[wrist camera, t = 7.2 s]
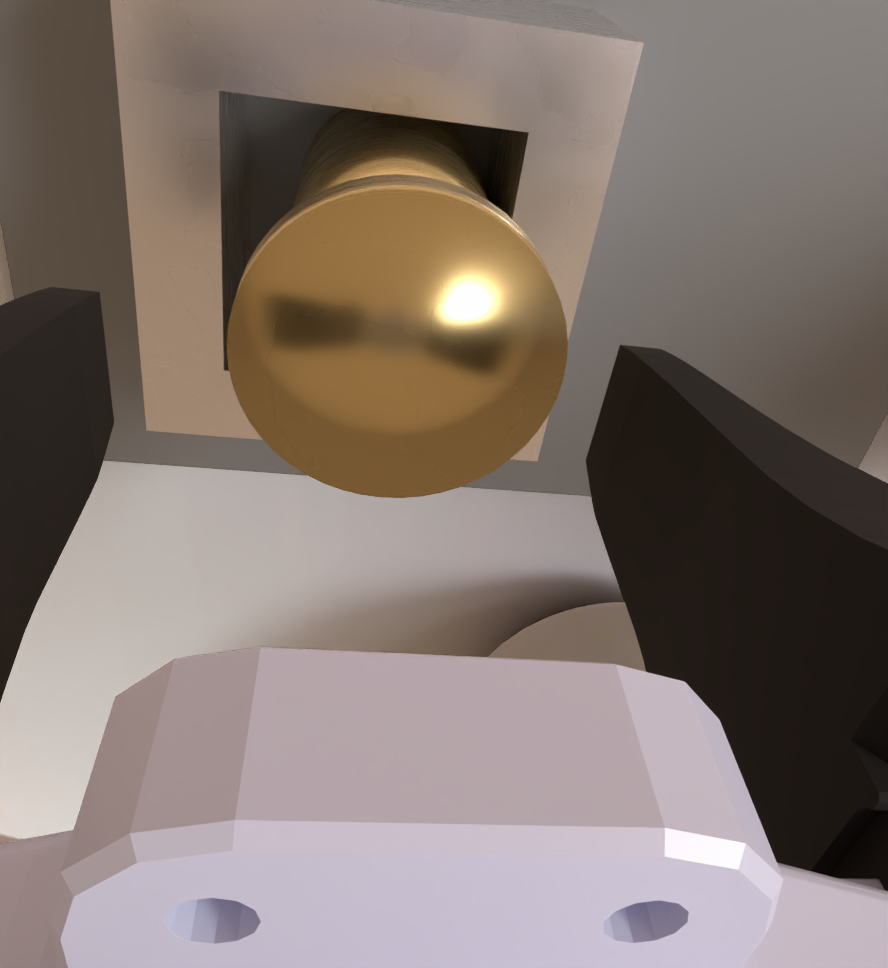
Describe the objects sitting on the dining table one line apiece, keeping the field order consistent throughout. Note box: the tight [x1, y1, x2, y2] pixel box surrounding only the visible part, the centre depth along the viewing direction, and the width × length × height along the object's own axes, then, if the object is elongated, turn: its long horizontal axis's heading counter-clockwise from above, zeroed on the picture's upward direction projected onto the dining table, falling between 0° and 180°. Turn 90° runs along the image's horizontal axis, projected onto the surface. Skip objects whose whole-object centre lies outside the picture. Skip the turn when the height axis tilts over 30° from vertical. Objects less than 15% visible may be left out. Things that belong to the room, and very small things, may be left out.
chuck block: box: [110, 0, 644, 461], centre depth 17 cm, size 8×8×4 cm
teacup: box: [488, 602, 646, 672], centre depth 27 cm, size 14×11×8 cm
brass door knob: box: [227, 108, 568, 498], centre depth 15 cm, size 5×5×8 cm
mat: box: [0, 0, 888, 496], centre depth 19 cm, size 23×16×1 cm
